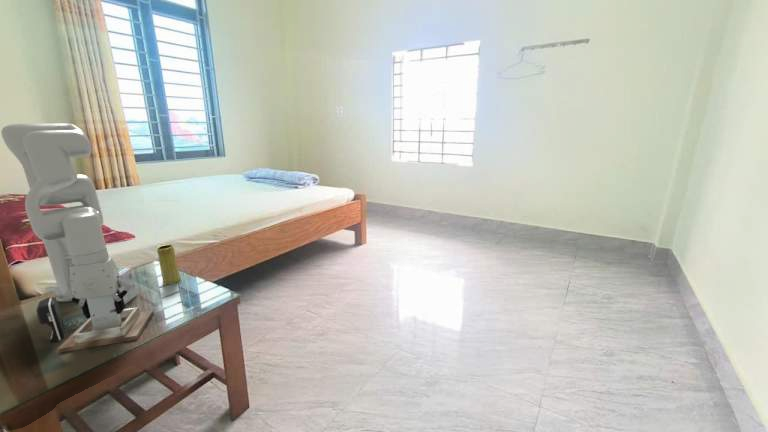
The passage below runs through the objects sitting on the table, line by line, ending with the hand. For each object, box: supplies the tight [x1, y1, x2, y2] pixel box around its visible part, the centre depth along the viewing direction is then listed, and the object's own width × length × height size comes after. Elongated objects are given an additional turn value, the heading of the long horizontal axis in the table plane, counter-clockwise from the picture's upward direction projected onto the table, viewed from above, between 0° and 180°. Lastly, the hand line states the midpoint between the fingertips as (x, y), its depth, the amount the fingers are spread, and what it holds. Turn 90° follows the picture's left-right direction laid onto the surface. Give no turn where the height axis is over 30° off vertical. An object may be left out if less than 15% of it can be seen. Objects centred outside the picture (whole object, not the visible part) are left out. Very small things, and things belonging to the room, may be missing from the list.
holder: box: [57, 306, 154, 353], centre depth 98 cm, size 18×14×4 cm
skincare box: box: [86, 295, 121, 331], centre depth 97 cm, size 6×4×12 cm
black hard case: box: [36, 297, 66, 343], centre depth 95 cm, size 7×4×11 cm, turn 40°
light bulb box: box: [117, 267, 138, 305], centre depth 113 cm, size 11×7×11 cm, turn 6°
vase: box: [156, 244, 182, 285], centre depth 128 cm, size 6×6×14 cm
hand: (105, 313), depth 97 cm, fingers closed on skincare box, 6 cm apart
